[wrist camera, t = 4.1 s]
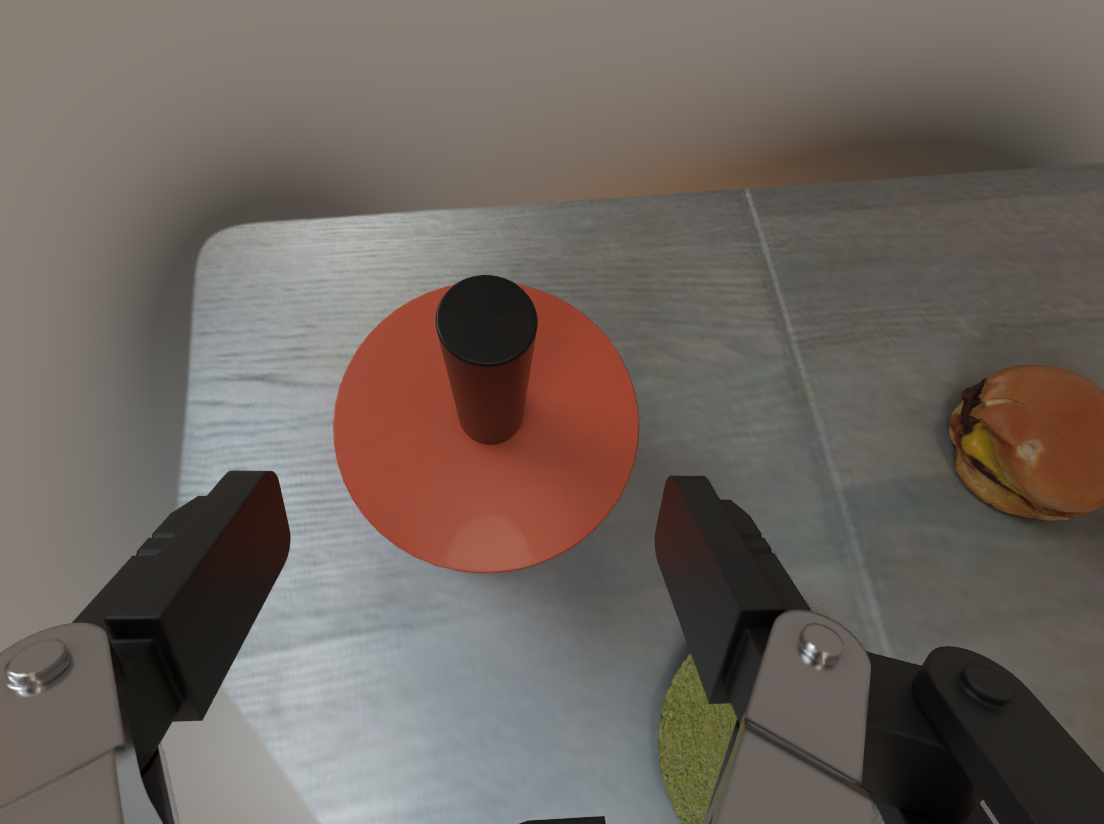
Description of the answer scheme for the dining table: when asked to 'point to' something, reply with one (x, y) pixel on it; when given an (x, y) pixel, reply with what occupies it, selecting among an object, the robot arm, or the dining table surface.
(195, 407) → the dining table surface
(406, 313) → the cooker lid
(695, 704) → the mat
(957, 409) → the burger
